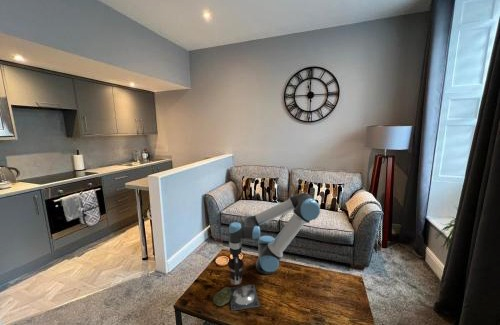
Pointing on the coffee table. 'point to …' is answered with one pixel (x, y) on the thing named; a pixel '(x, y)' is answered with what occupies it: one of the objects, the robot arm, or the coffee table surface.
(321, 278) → the coffee table surface
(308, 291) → the coffee table surface
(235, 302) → the duct flange
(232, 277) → the coffee cup
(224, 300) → the seashell
